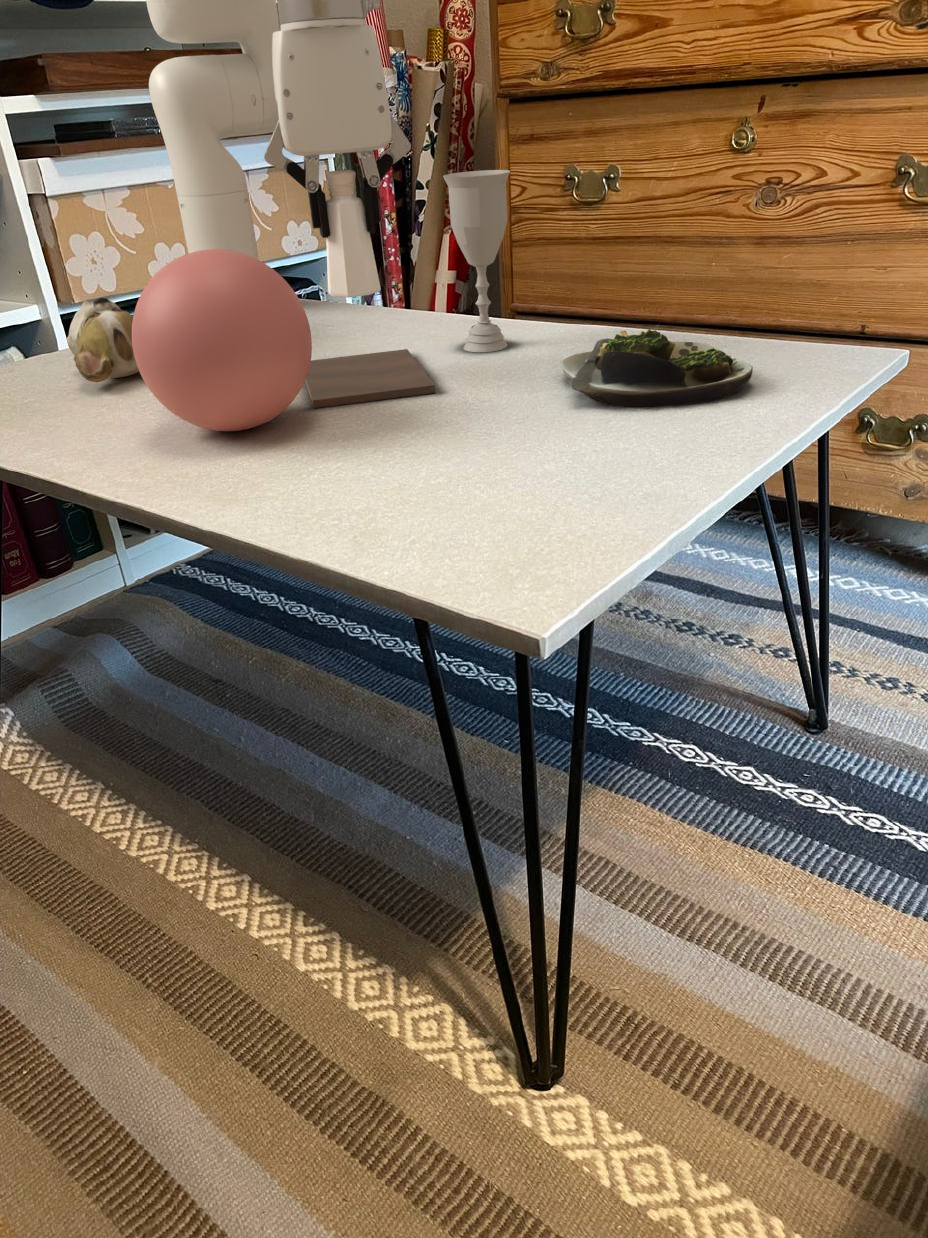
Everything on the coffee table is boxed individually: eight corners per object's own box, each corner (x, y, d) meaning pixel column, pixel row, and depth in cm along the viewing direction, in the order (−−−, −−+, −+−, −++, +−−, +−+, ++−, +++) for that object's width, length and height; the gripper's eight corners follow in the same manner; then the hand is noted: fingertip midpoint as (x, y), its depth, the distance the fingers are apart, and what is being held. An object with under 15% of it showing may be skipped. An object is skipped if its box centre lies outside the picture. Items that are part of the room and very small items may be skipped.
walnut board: (301, 368, 105) (300, 361, 104) (408, 355, 107) (407, 348, 106) (313, 408, 91) (312, 400, 91) (435, 392, 93) (435, 384, 93)
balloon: (266, 383, 100) (240, 228, 93) (351, 427, 85) (328, 245, 78) (120, 415, 93) (79, 249, 86) (184, 468, 78) (142, 273, 71)
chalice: (480, 357, 104) (470, 177, 95) (442, 348, 109) (429, 176, 100) (529, 344, 108) (524, 170, 99) (490, 336, 113) (482, 169, 104)
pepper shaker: (317, 293, 95) (301, 173, 90) (363, 284, 98) (350, 167, 93) (345, 299, 91) (330, 174, 86) (392, 290, 94) (380, 168, 89)
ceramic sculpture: (126, 278, 111) (174, 302, 101) (142, 352, 116) (190, 382, 105) (33, 294, 106) (74, 321, 96) (54, 371, 111) (95, 404, 100)
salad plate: (529, 364, 100) (527, 320, 98) (689, 346, 102) (691, 302, 100) (583, 417, 83) (582, 365, 81) (773, 394, 86) (778, 342, 83)
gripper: (407, 8, 88) (424, 221, 97) (225, 19, 85) (259, 237, 94) (422, 0, 81) (439, 229, 90) (225, 12, 78) (262, 247, 87)
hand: (347, 231), depth 92 cm, fingers closed on pepper shaker, 3 cm apart
